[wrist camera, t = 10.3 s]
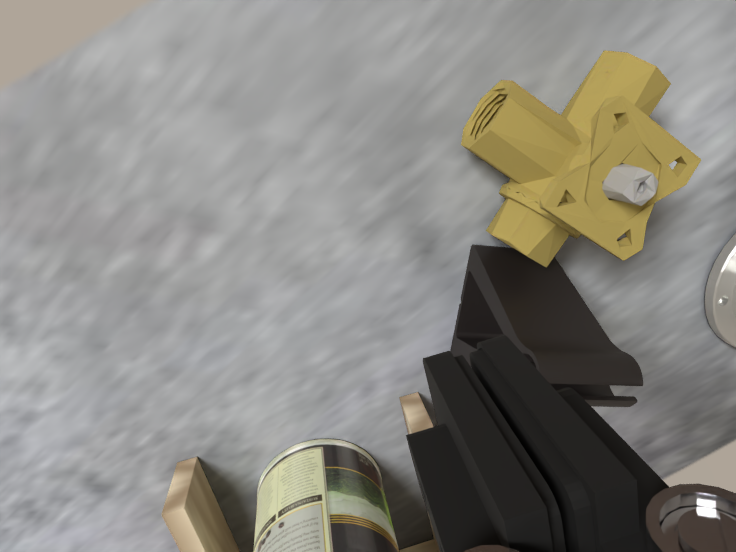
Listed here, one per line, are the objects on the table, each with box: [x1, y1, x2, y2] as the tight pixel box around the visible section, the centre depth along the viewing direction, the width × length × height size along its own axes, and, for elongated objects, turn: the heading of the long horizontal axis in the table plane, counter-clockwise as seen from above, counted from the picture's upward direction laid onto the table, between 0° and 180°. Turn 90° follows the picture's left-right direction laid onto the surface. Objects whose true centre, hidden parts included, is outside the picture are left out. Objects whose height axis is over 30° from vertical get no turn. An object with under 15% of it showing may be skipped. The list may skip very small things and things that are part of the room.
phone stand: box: [450, 245, 643, 407], centre depth 31 cm, size 9×6×12 cm, turn 172°
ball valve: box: [461, 51, 701, 268], centre depth 28 cm, size 13×10×10 cm
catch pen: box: [162, 392, 440, 552], centre depth 38 cm, size 19×17×5 cm
